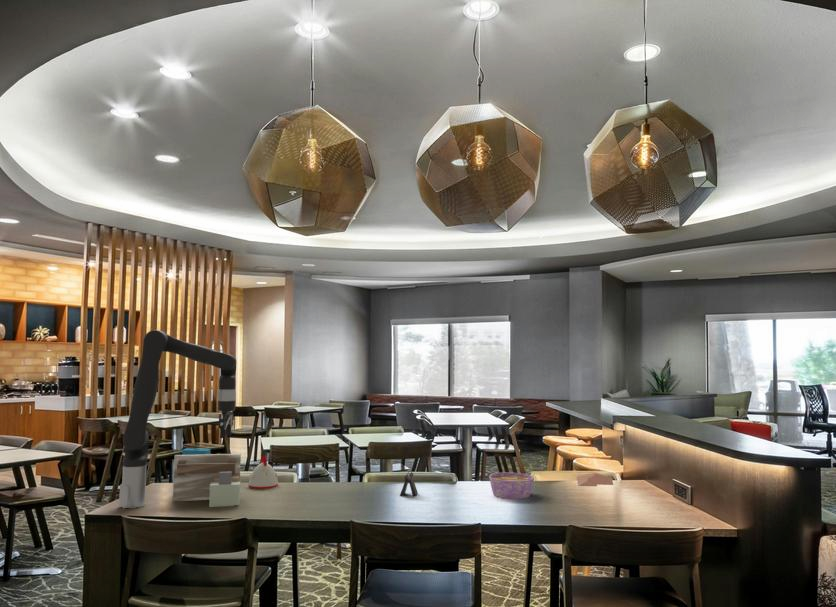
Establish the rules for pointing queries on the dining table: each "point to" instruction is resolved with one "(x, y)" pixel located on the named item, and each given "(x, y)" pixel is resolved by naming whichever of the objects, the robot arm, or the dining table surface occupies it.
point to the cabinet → (225, 490)
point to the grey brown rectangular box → (201, 474)
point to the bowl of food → (511, 485)
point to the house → (594, 480)
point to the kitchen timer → (263, 476)
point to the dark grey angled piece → (412, 485)
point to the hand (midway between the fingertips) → (225, 436)
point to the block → (195, 451)
